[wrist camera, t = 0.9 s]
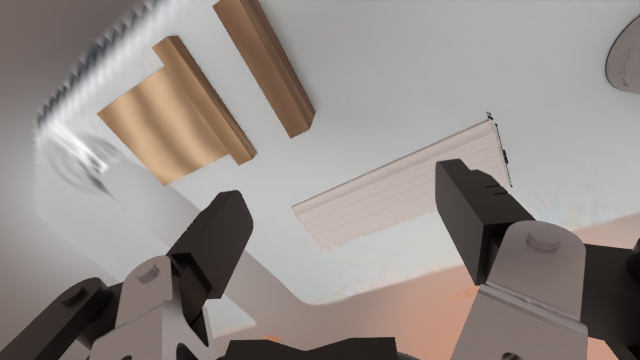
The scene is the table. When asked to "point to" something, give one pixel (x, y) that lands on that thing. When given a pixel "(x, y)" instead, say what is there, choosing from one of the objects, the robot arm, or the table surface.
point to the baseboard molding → (397, 188)
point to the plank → (267, 62)
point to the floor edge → (176, 118)
